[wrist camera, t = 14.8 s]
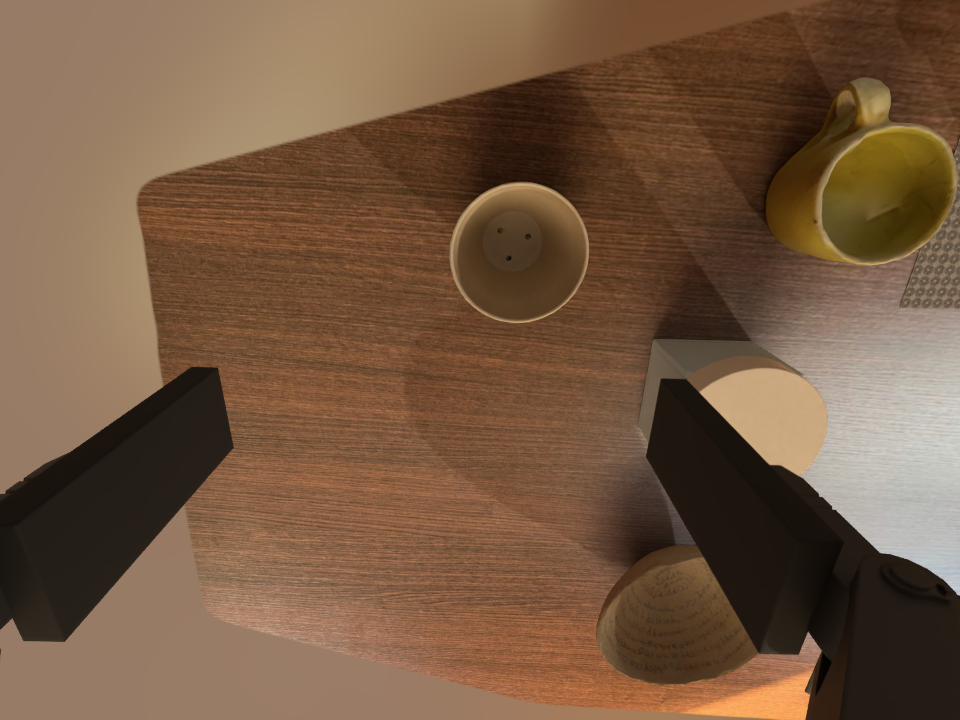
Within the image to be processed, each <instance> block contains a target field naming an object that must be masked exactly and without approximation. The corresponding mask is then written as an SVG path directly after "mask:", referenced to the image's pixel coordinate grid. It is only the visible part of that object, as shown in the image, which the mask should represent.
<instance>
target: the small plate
mask: <svg viewBox="0 0 960 720" xmlns="http://www.w3.org/2000/svg"><path fill="white" fill-rule="evenodd" d="M687 380H688V381H689V382H690V383H691V384H692V385H693V386H694V387H695V388H696V389H697V390H698V392H699V393H700V394H701V395H702V396H703V397H704V398H705V399H706V400H707V401H708V402H709V403H710V404H711V405H712V406H713V407H714V408H715V409H716V410H717V411H718V412H719V413H720V414H721V415H722V416H723V417H724V418H725V419H726V420H727V421H728V422H729V424H730V425H731V426H732V427H733V428H734V429H735V430H736V431H737V432H738V433H739V434H740V435H741V436H742V437H743V438H744V439H745V440H746V441H747V442H748V443H749V444H750V445H751V446H752V447H753V448H754V449H755V450H756V451H757V452H758V453H759V454H760V456H761V457H762V458H763V459H764V460H765V461H766V462H767V463H768V464H769V465H781V466H783V467H785V468H786V469H788V470H790V471H791V472H793V473H795V474H796V475H798V476H801V475H802V474H803V473H804V472H805V471H806V470H807V469H808V468H809V467H810V465H811V464H812V463H813V461H814V460H815V459H816V457H817V455H818V454H819V452H820V450H821V448H822V446H823V443H824V441H825V437H826V433H827V426H828V415H827V410H826V406H825V403H824V401H823V398H822V397H821V395H820V393H819V392H818V390H817V389H816V388H815V387H814V386H813V385H812V384H811V383H810V382H809V381H807V380H806V379H805V378H803V377H802V376H800V375H799V374H797V373H796V372H794V371H793V370H791V369H790V368H788V367H787V366H785V365H783V364H781V363H779V362H777V361H774V360H772V359H769V358H764V357H759V356H737V357H731V358H726V359H723V360H719V361H716V362H714V363H711V364H709V365H707V366H705V367H703V368H701V369H699V370H698V371H696V372H695V373H693V374H692V375H690V376H689V377H688V378H687Z"/></svg>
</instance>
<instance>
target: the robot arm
mask: <svg viewBox="0 0 960 720" xmlns="http://www.w3.org/2000/svg"><path fill="white" fill-rule="evenodd" d="M233 448H234V447H233V442H232V437H231V432H230V427H229V422H228V417H227V411H226V406H225V401H224V396H223V391H222V386H221V381H220V376H219V371H218V368H212V367H191V368H190V369H188V370H187V371H185V372H184V373H182V374H181V375H180V376H178V377H177V378H175V379H174V380H172V381H171V382H170V383H168V384H167V385H165V386H164V387H162V388H161V389H160V390H158V391H157V392H155V393H154V394H152V395H151V396H150V397H148V398H147V399H145V400H144V401H143V402H141V403H140V404H138V405H137V406H135V407H134V408H133V409H131V410H130V411H128V412H127V413H125V414H124V415H123V416H121V417H120V418H118V419H117V420H116V421H114V422H113V423H111V424H110V425H109V426H107V427H105V428H104V429H103V430H101V431H100V432H98V433H97V434H95V435H94V436H93V437H91V438H90V439H88V440H87V441H86V442H84V443H83V444H81V445H80V446H78V447H77V448H75V449H74V450H73V451H71V452H69V453H67V454H65V455H63V456H61V457H59V458H56V459H54V460H52V461H50V462H48V463H46V464H44V465H42V466H41V467H40V468H38V469H37V470H35V471H34V472H32V473H31V474H29V475H28V476H27V477H25V478H24V481H19V482H18V483H16V484H15V485H13V486H12V487H10V488H9V489H8V490H6V493H5V494H0V629H1V628H3V626H5V625H6V624H7V623H8V622H9V621H10V620H11V619H12V618H13V620H14V622H15V624H16V626H17V629H18V631H19V633H20V635H21V637H22V639H23V641H54V642H57V641H58V642H65V641H66V640H67V638H68V637H69V636H70V635H71V634H72V633H73V632H74V630H75V629H76V628H77V627H78V626H79V625H80V624H81V622H82V621H83V620H84V619H85V618H86V617H87V616H88V614H89V613H90V612H91V611H92V610H93V609H94V607H95V606H96V605H97V604H98V603H99V602H100V601H101V599H102V598H103V597H104V596H105V595H106V594H107V592H108V591H109V590H110V589H111V588H112V587H113V586H114V585H115V583H116V582H117V581H118V580H119V579H120V578H121V576H122V575H123V574H124V573H125V572H126V570H128V568H129V567H130V566H131V565H132V564H133V563H134V562H135V560H136V559H137V558H138V557H139V556H140V555H141V553H142V552H143V551H144V550H145V549H146V548H147V547H148V545H149V544H150V543H151V542H152V541H153V540H154V539H155V537H156V536H157V535H158V534H159V533H160V532H161V531H162V529H163V528H164V527H165V526H166V525H167V524H168V522H169V521H170V520H171V519H172V518H173V517H174V516H175V514H176V513H177V512H178V511H179V510H180V508H182V506H183V505H184V504H185V503H186V502H187V501H188V499H189V498H190V497H191V496H192V495H193V494H194V493H195V491H196V490H197V489H198V488H199V487H200V486H201V485H202V483H203V482H204V481H205V480H206V479H207V478H208V476H209V475H210V474H211V473H212V472H213V471H214V470H215V468H216V467H217V466H218V465H219V464H220V463H221V462H222V460H223V459H224V458H225V457H226V456H227V455H228V454H229V452H230V451H231V450H232V449H233ZM646 458H647V459H648V461H649V463H650V465H651V466H652V468H653V470H654V472H655V473H656V475H657V477H658V479H659V480H660V482H661V484H662V486H663V487H664V489H665V491H666V493H667V494H668V496H669V498H670V500H671V501H672V503H673V505H674V507H675V508H676V510H677V512H678V514H679V515H680V517H681V519H682V520H683V522H684V524H685V526H686V527H687V529H688V531H689V533H690V534H691V536H692V538H693V540H694V541H695V543H696V545H697V547H698V548H699V550H700V552H701V554H702V555H703V557H704V559H705V561H706V562H707V564H708V566H709V568H710V569H711V571H712V573H713V575H714V576H715V578H716V580H717V582H718V583H719V585H720V587H721V589H722V590H723V592H724V594H725V596H726V597H727V599H728V601H729V603H730V604H731V606H732V608H733V610H734V611H735V613H736V615H737V617H738V618H739V620H740V622H741V624H742V625H743V627H744V629H745V631H746V632H747V634H748V636H749V638H750V639H751V641H752V643H753V645H754V646H755V648H756V650H757V652H758V653H759V654H793V655H799V652H800V650H801V647H802V645H803V643H804V640H805V638H806V635H807V633H808V632H809V633H810V635H811V636H812V637H813V639H814V640H815V642H816V643H817V645H818V646H819V647H820V649H821V650H822V652H821V654H820V656H819V659H818V661H817V663H816V666H815V668H814V670H813V673H812V675H811V677H810V680H809V682H808V684H807V687H806V689H805V692H806V693H808V694H810V699H809V704H808V710H807V715H806V720H960V596H959V595H957V594H956V592H955V591H954V590H953V589H952V588H951V587H950V586H949V585H948V584H947V583H946V582H945V581H944V580H943V579H941V578H940V577H938V576H937V575H935V574H934V573H932V572H931V571H929V570H928V569H926V568H924V567H922V566H920V565H918V564H916V563H914V562H912V561H910V560H907V559H904V558H901V557H898V556H894V555H891V554H882V553H879V552H878V551H877V550H876V549H875V548H874V547H873V546H872V545H871V544H870V543H869V542H868V541H867V540H866V539H865V538H864V537H863V536H862V535H861V534H860V533H859V532H858V531H857V530H856V529H855V528H854V527H853V526H852V525H850V524H849V523H848V522H847V521H846V520H845V519H844V518H843V517H842V516H841V515H840V514H839V513H838V512H837V511H836V510H832V506H831V505H830V504H829V503H828V502H827V501H826V500H825V499H824V498H823V497H819V494H818V493H817V492H816V491H815V490H814V489H813V488H812V487H811V486H810V485H809V484H808V483H807V482H806V481H805V480H804V479H803V478H801V477H800V476H798V475H796V474H795V473H793V472H791V471H790V470H788V469H786V468H785V467H783V466H781V465H769V464H768V463H767V462H766V461H765V460H764V459H763V458H762V457H761V456H760V454H759V453H758V452H757V451H756V450H755V449H754V448H753V447H752V446H751V445H750V444H749V443H748V442H747V441H746V440H745V439H744V438H743V437H742V436H741V435H740V434H739V433H738V432H737V431H736V430H735V429H734V428H733V427H732V426H731V425H730V424H729V422H728V421H727V420H726V419H725V418H724V417H723V416H722V415H721V414H720V413H719V412H718V411H717V410H716V409H715V408H714V407H713V406H712V405H711V404H710V403H709V402H708V401H707V400H706V399H705V398H704V397H703V396H702V395H701V394H700V393H699V392H698V390H697V389H696V388H695V387H694V386H693V385H692V384H691V383H690V382H689V381H688V380H687V379H668V378H661V380H660V385H659V390H658V396H657V401H656V406H655V412H654V417H653V422H652V428H651V433H650V438H649V444H648V449H647V454H646ZM0 653H1V650H0Z"/></svg>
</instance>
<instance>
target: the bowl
mask: <svg viewBox="0 0 960 720" xmlns="http://www.w3.org/2000/svg"><path fill="white" fill-rule="evenodd" d="M596 638H597V643H598V647H599V650H600V652H601V654H602V656H603V657H604V659H605V660H606V661H607V662H608V663H609V664H610V665H611V666H612V667H613V668H614V669H615V670H616V671H618V672H620V673H621V674H623V675H625V676H627V677H629V678H632V679H635V680H638V681H642V682H647V683H651V684H657V685H682V684H690V683H694V682H699V681H704V680H710V679H714V678H717V677H721V676H724V675H726V674H727V673H728V672H734V671H735V670H737V669H739V668H741V667H742V666H743V665H745V664H746V663H748V662H750V661H751V660H752V659H754V658H755V657H757V656H758V655H759V653H758V652H757V650H756V648H755V646H754V645H753V643H752V641H751V639H750V638H749V636H748V634H747V632H746V631H745V629H744V627H743V625H742V624H741V622H740V620H739V618H738V617H737V615H736V613H735V611H734V610H733V608H732V606H731V604H730V603H729V601H728V599H727V597H726V596H725V594H724V592H723V590H722V589H721V587H720V585H719V583H718V582H717V580H716V578H715V576H714V575H713V573H712V571H711V569H710V568H709V566H708V564H707V562H706V561H705V559H704V557H703V555H702V554H701V552H700V550H699V548H698V547H697V546H696V545H676V546H670V547H666V548H662V549H659V550H657V551H654V552H652V553H649V554H647V555H646V556H644V557H643V558H642V559H640V560H639V561H637V562H636V563H635V564H634V565H633V566H632V567H631V568H630V569H629V570H628V571H627V572H626V573H625V574H624V575H623V576H622V577H621V578H620V580H619V581H618V582H617V583H616V584H615V586H614V587H613V588H612V590H611V591H610V593H609V594H608V596H607V598H606V600H605V602H604V604H603V607H602V610H601V612H600V615H599V619H598V623H597V631H596Z"/></svg>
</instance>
